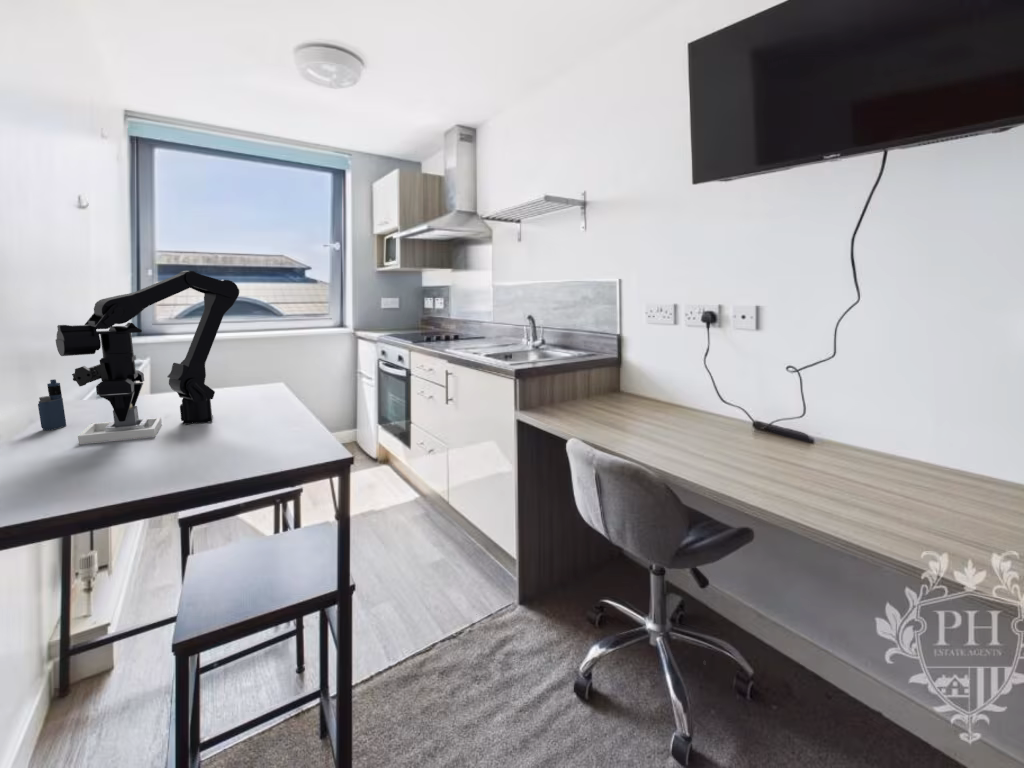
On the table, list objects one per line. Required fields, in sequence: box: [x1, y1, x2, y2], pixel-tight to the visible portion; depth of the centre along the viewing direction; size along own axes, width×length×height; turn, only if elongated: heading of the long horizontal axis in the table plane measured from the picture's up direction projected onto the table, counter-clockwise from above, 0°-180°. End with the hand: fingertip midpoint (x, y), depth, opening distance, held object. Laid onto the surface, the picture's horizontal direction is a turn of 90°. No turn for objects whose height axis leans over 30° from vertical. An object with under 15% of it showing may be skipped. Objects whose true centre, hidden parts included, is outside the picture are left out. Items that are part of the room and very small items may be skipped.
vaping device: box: [37, 379, 67, 431], centre depth 122 cm, size 3×5×12 cm, turn 174°
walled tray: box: [77, 417, 163, 445], centre depth 119 cm, size 14×12×2 cm
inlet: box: [105, 418, 149, 433], centre depth 119 cm, size 7×7×2 cm
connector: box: [112, 404, 140, 427], centre depth 119 cm, size 4×4×7 cm
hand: (126, 417), depth 118 cm, fingers open, 9 cm apart
